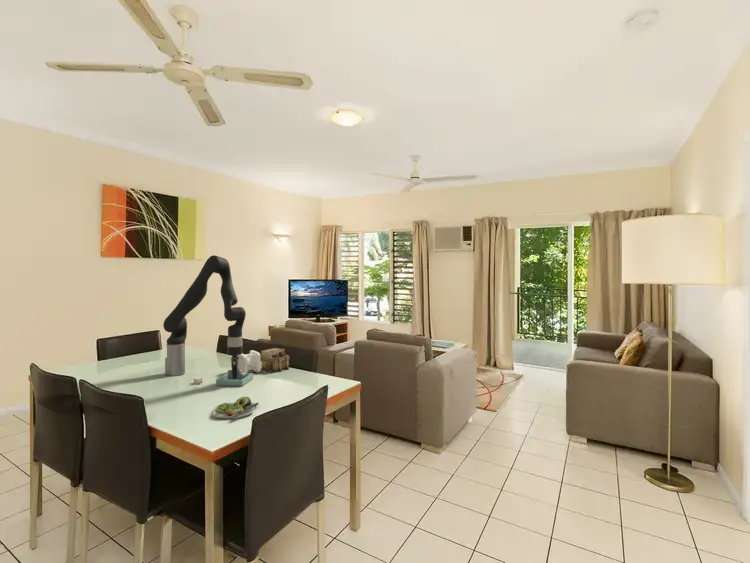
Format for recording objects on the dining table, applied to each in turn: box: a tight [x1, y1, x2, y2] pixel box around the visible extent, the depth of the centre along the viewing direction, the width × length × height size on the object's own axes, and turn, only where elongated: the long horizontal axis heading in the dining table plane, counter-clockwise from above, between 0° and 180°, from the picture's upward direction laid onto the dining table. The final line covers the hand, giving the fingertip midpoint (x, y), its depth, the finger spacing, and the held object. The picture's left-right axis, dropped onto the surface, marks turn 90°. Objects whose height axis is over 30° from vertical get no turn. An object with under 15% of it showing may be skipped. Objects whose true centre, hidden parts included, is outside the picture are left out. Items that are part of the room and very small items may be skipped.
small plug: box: [193, 376, 204, 385], centre depth 203 cm, size 5×3×3 cm, turn 52°
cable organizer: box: [238, 349, 262, 374], centre depth 225 cm, size 15×11×12 cm
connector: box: [227, 369, 245, 380], centre depth 206 cm, size 9×3×5 cm, turn 106°
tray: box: [215, 372, 254, 387], centre depth 205 cm, size 14×14×3 cm
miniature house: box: [260, 347, 291, 374], centre depth 233 cm, size 15×14×11 cm
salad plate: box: [211, 396, 259, 420], centre depth 161 cm, size 19×18×5 cm
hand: (234, 377), depth 205 cm, fingers closed on connector, 3 cm apart
